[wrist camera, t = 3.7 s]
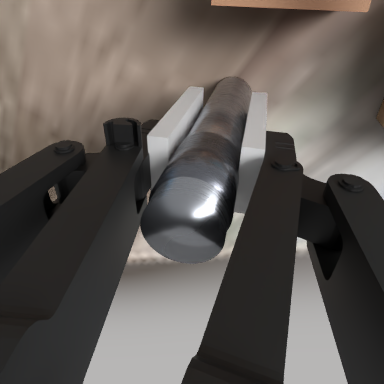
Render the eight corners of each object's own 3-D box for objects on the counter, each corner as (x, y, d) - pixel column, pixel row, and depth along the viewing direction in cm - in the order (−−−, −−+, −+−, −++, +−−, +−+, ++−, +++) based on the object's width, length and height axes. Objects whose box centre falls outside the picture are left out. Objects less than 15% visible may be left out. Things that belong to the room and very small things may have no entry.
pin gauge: (210, 114, 19) (140, 256, 9) (213, 73, 18) (132, 186, 8) (250, 118, 19) (224, 273, 9) (256, 76, 18) (233, 201, 7)
